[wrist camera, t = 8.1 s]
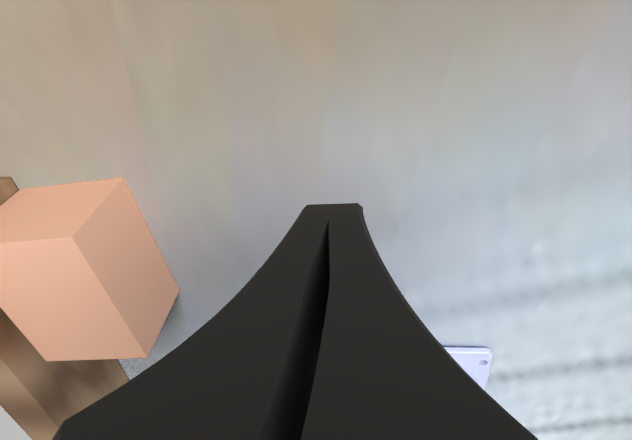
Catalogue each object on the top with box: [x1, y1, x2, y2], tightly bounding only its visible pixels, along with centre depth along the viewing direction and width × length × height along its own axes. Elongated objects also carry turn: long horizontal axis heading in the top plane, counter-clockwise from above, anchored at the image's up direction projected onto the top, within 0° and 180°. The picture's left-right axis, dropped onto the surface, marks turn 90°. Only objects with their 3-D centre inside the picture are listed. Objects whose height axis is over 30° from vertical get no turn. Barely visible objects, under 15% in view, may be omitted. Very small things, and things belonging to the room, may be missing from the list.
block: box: [0, 177, 180, 361], centre depth 23 cm, size 8×6×5 cm
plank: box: [0, 177, 129, 440], centre depth 27 cm, size 24×2×6 cm, turn 5°
